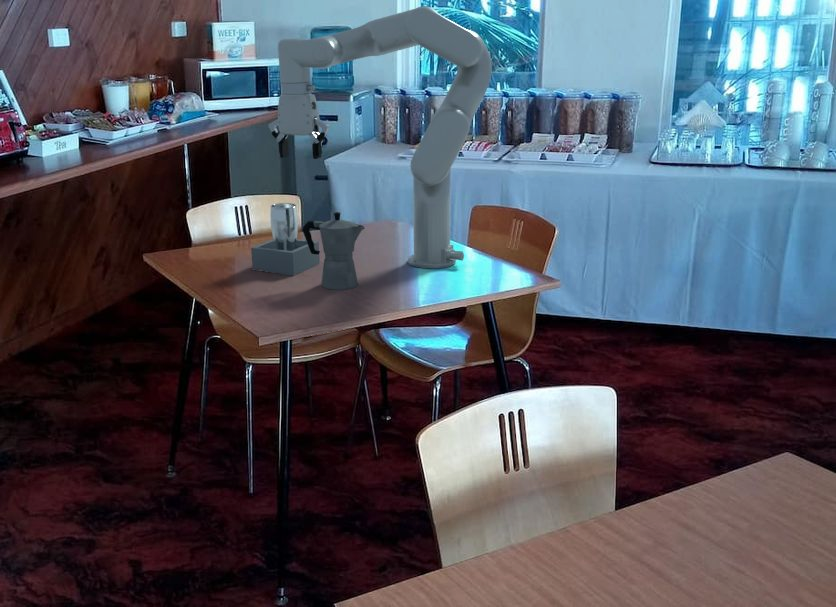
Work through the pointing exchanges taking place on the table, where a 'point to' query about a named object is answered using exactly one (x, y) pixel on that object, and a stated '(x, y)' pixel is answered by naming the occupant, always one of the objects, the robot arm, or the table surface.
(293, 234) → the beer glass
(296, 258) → the grey open box
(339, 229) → the coffeepot
